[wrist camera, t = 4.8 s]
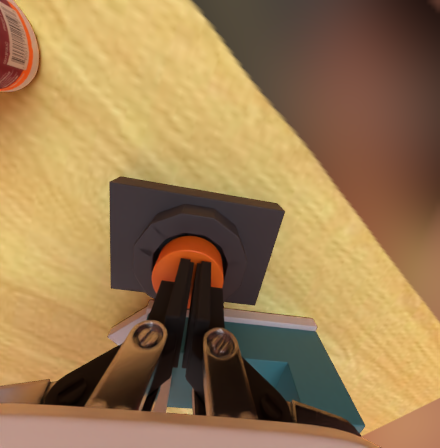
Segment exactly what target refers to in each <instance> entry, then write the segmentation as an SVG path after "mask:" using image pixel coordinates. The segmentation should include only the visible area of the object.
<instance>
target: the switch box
mask: <svg viewBox="0 0 440 448" xmlns="http://www.w3.org/2000/svg"><path fill="white" fill-rule="evenodd" d="M284 213H285V211H284V210H283V209H282V208H281V207H280V206H279V205H278V204H277V203H271V202H265V201H260V200H254V199H248V198H242V197H236V196H230V195H225V194H219V193H213V192H207V191H201V190H196V189H190V188H184V187H178V186H172V185H167V184H161V183H155V182H149V181H143V180H138V179H132V178H126V177H119V178H117V179H115V180H113V181H111V182H110V253H111V288H113V289H121V290H130V291H138V292H145V293H146V294H147V295H149V296H150V297H152V298H154V299H155V297H156V295H157V293H156V292H155V290H154V288H153V285H152V271H153V268H154V266H155V264H156V261H157V259H158V257H159V254H160V252H161V250H162V249H163V247H164V246H165V245H166V244H167V243H169V242H170V241H172V240H173V239H176V238H179V237H182V236H196V237H200V238H203V239H205V240H207V241H209V242H211V243H212V244H213V245H214V246H215V247H216V248H217V250H218V251H219V253H220V255H221V258H222V265H223V277H224V282H223V287H222V289H223V302H231V303H239V304H248V305H255V303H256V300H257V297H258V294H259V291H260V288H261V285H262V281H263V278H264V275H265V272H266V269H267V266H268V263H269V260H270V256H271V253H272V250H273V247H274V244H275V241H276V238H277V235H278V231H279V228H280V225H281V222H282V219H283V216H284ZM187 310H190V308H187Z"/></svg>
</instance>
